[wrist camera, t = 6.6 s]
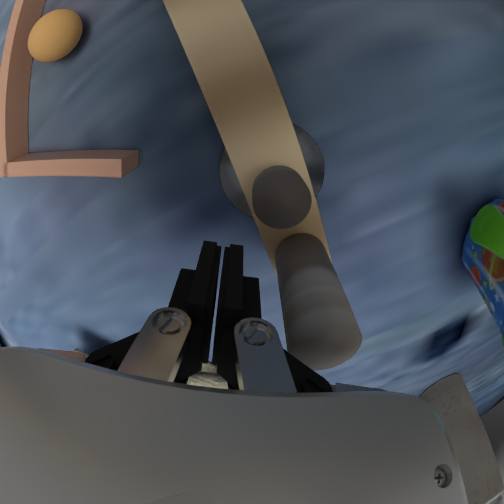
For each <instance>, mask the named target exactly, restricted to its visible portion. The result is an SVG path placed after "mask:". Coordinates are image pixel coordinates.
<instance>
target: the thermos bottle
mask: <svg viewBox="0 0 504 504" xmlns="http://www.w3.org/2000/svg"><path fill="white" fill-rule="evenodd" d="M419 398H421V399H423V400H425V401H427V402H428V403H429V404H431V405H432V407H433V408H434V409H435V410H436V412H437V413H438V415H439V417H440V418H441V420H442V422H443V424H444V426H445V429H446V431H447V433H448V436H449V438H450V441H451V444H452V446H453V449H454V452H455V455H456V458H457V461H458V465H459V468H460V472H461V475H462V479H463V483H464V487H465V492H466V496H467V501H468V504H502V497H501V492H502V491H503V490H504V486H503V482H502V479H501V475H500V471H499V468H498V465H497V461H496V459H495V456H494V452H493V450H492V447H491V444H490V441H489V438H488V436H487V433H486V431H485V428H484V426H483V424H482V422H481V419H480V417H479V415H478V412H477V410H476V407H475V405H474V402H473V400H472V398H471V396H470V394H469V391H468V389H467V387H466V385H465V383H464V381H463V379H462V377H461V375H460V374H452V375H449V376H447V377H445V378H443V379H441V380H440V381H438V382H436V383H435V384H433V385H432V386H431V387H429V388H428V389H427V390H426V391H425V392H424V393H423V394H422V395H421V396H420V397H419Z"/></svg>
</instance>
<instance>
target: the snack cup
mask: <svg viewBox="0 0 504 504" xmlns="http://www.w3.org/2000/svg"><path fill="white" fill-rule="evenodd" d="M461 258H462V262H463V264H464V266H465V268H466V270H467V272H468V274H469V276H470V278H471V279H472V281H473V283H474V284H475V286H476V288H477V289H478V290H479V293H480V294H481V296H482V298H483V300H484V301H485V303H486V305H487V307H488V308H489V310H490V312H491V314H492V316H493V318H494V320H495V322H496V324H497V325H498V327H499V329H500V331H501V333H502V339H503V345H504V200H502V199H494V201H492V202H490V203H488V204H487V205H485V206H484V207H483V208H481V209H480V210H479V211H478V213H477V215H476V216H475V217H473V218H472V219H471V222H470V225H469V229H468V232H467V235H466V238H465V240H464V245H463V255H462V257H461Z"/></svg>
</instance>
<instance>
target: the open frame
mask: <svg viewBox="0 0 504 504" xmlns="http://www.w3.org/2000/svg"><path fill="white" fill-rule="evenodd" d="M45 1H46V0H16V2H15V5H14V8H13V12H12V15H11V19H10V23H9V27H8V31H7V35H6V40H5V45H4V51H3V56H2V63H1V70H0V177H18V176H96V177H121V178H122V177H123V176H124V175H126V174H127V173H129V172H130V171H132V170H133V169H135V168H136V167H138V156H139V150H68V151H50V152H36V153H29V150H28V102H29V87H30V76H31V68H32V60H33V57H32V55H31V54H30V52H29V49H28V37H29V34H30V32H31V30H32V28H33V26H34V25H35V24H36V22H37V21H38V20H39V19H40V18H41V15H42V12H43V8H44V5H45Z"/></svg>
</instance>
